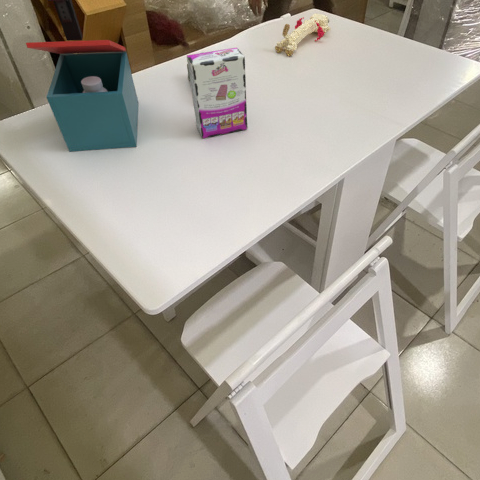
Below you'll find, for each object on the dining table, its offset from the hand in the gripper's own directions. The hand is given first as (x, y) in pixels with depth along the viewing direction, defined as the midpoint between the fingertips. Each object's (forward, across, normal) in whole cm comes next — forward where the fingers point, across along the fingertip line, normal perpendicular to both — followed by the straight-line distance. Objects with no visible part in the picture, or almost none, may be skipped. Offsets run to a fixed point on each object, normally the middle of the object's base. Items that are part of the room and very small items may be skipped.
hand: (74, 38), depth 75 cm
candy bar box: (+20, +2, +26) cm, 33 cm away
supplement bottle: (+19, -2, 0) cm, 19 cm away
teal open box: (+20, -3, 0) cm, 20 cm away
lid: (+3, -3, 0) cm, 4 cm away
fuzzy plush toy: (+20, -44, +58) cm, 75 cm away
